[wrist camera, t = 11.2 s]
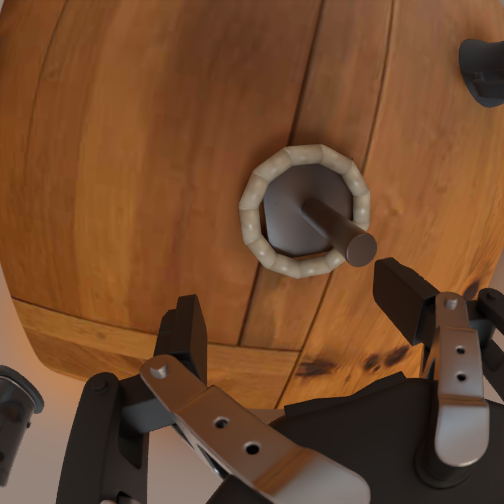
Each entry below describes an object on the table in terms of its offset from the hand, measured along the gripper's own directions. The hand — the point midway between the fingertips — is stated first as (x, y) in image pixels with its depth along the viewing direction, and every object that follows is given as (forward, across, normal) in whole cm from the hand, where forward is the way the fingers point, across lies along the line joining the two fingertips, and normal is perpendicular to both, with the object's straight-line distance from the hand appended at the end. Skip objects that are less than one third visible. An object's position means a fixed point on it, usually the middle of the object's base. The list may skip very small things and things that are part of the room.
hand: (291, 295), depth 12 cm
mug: (+13, -29, -14) cm, 35 cm away
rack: (+13, -5, 0) cm, 14 cm away
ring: (+11, -4, 0) cm, 12 cm away
